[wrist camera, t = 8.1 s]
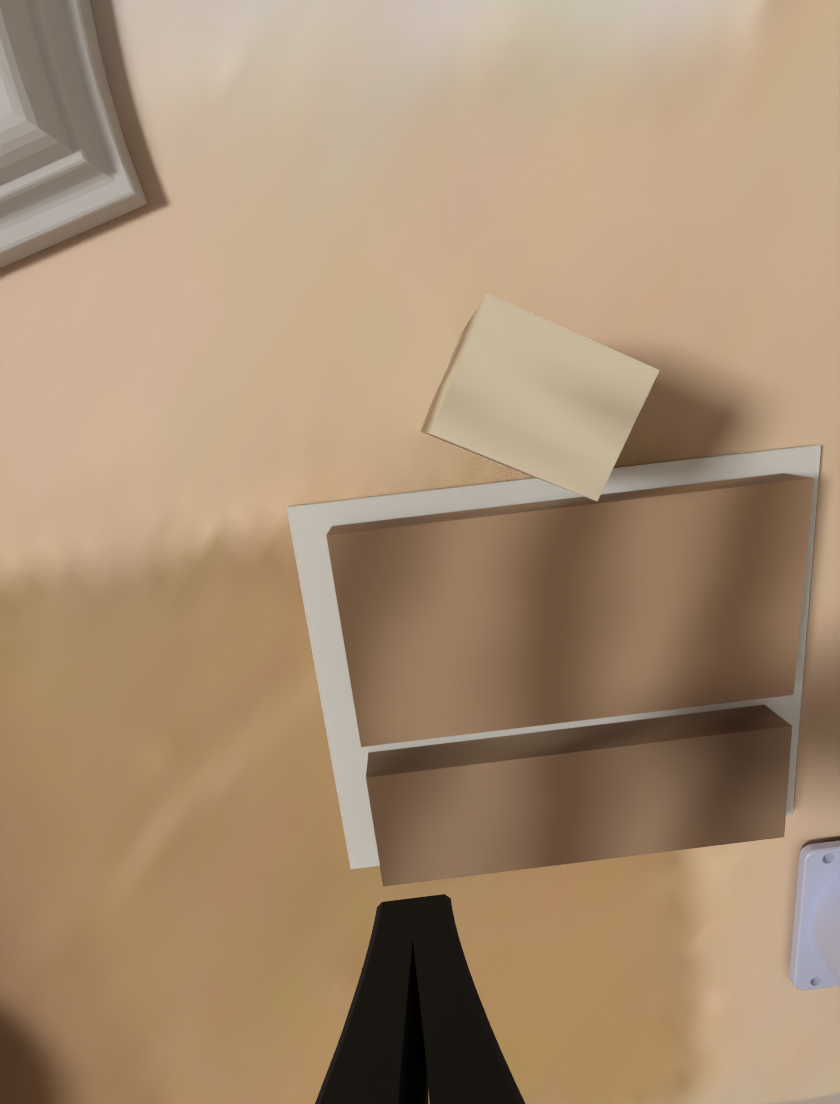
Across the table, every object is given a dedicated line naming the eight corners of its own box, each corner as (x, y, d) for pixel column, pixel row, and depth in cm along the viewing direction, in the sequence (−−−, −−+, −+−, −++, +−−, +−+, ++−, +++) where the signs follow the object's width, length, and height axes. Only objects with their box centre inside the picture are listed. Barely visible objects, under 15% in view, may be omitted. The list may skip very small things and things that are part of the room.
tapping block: (420, 431, 18) (453, 346, 17) (524, 473, 18) (559, 391, 18) (431, 434, 11) (487, 292, 10) (596, 501, 11) (659, 370, 11)
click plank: (783, 473, 18) (813, 478, 17) (767, 676, 20) (793, 694, 19) (331, 526, 18) (326, 535, 16) (363, 724, 20) (361, 747, 19)
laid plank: (764, 704, 20) (792, 726, 19) (758, 809, 22) (784, 836, 20) (368, 752, 20) (365, 777, 19) (384, 855, 22) (383, 886, 20)
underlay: (814, 444, 18) (821, 445, 18) (787, 809, 22) (792, 814, 22) (288, 505, 18) (286, 507, 18) (351, 863, 22) (350, 869, 22)
